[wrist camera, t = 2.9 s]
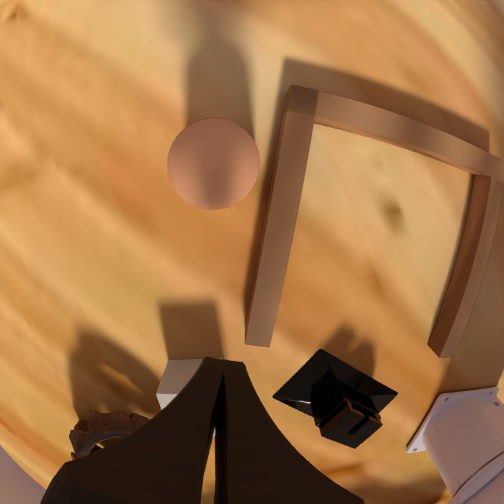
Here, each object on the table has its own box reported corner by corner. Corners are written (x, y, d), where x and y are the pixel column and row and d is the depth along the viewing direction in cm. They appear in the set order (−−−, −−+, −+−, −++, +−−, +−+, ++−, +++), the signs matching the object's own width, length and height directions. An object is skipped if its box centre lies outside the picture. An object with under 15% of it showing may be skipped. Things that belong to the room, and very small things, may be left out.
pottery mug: (60, 393, 23) (45, 430, 15) (152, 375, 27) (167, 407, 19) (103, 489, 23) (108, 538, 15) (184, 471, 27) (209, 516, 19)
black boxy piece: (411, 388, 23) (433, 420, 19) (355, 440, 25) (368, 475, 20) (309, 324, 21) (323, 362, 17) (247, 392, 23) (248, 435, 18)
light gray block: (223, 356, 21) (219, 392, 17) (231, 398, 22) (229, 435, 18) (168, 359, 21) (155, 393, 17) (180, 400, 22) (171, 436, 18)
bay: (489, 161, 18) (506, 162, 16) (440, 345, 21) (452, 357, 19) (286, 93, 17) (291, 84, 15) (244, 328, 20) (244, 344, 18)
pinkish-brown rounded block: (261, 138, 18) (266, 125, 13) (249, 204, 18) (251, 216, 14) (193, 128, 17) (175, 113, 12) (183, 194, 18) (161, 202, 13)
